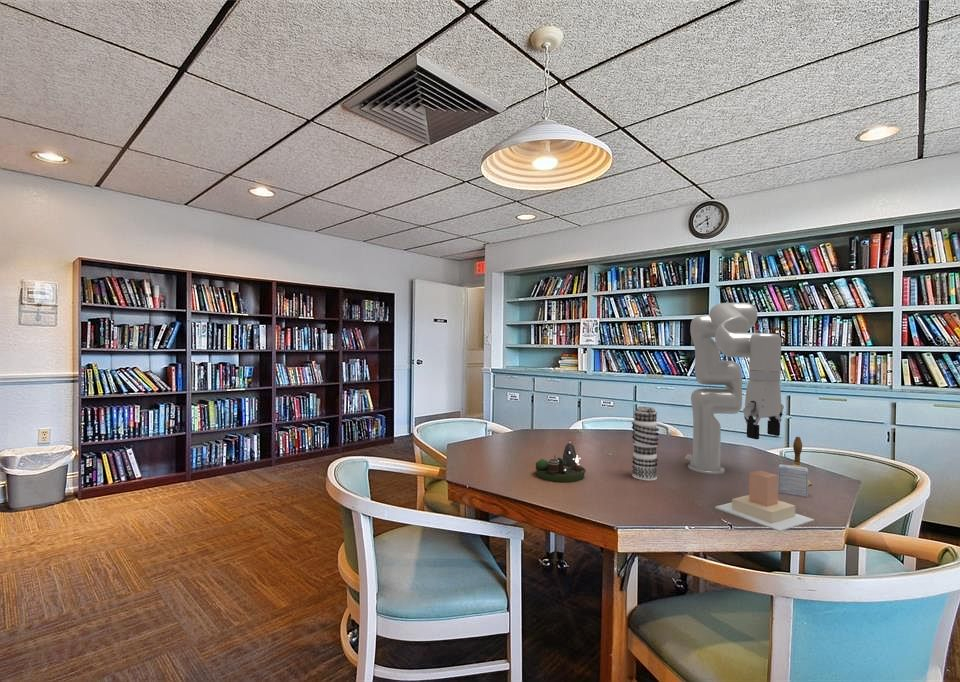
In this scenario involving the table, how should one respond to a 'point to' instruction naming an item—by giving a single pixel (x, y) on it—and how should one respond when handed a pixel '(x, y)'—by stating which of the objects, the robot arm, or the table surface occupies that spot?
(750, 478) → the terracotta block
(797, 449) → the hand bell
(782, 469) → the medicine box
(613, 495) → the table surface
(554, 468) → the toy scene
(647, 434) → the black white tall cylinder
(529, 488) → the table surface
